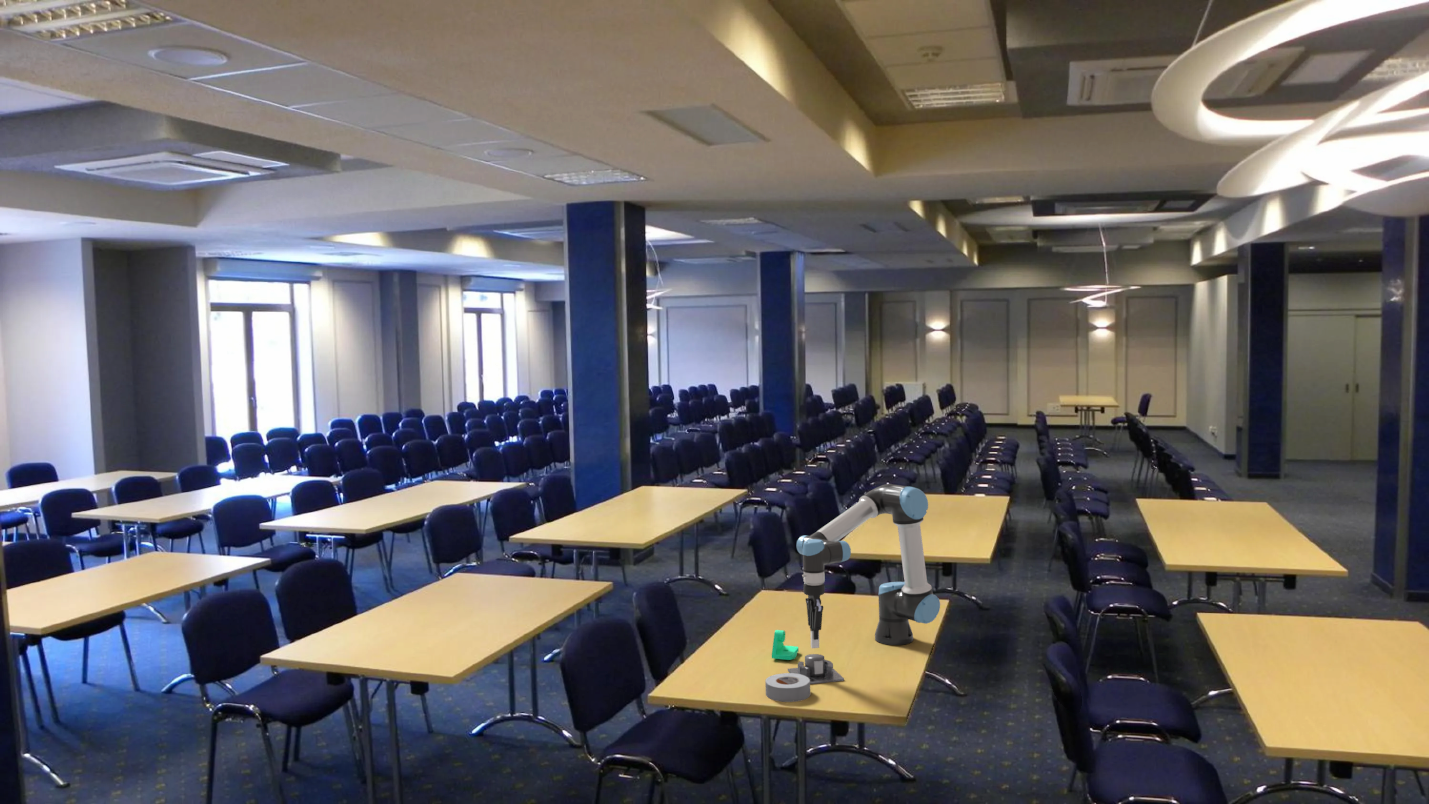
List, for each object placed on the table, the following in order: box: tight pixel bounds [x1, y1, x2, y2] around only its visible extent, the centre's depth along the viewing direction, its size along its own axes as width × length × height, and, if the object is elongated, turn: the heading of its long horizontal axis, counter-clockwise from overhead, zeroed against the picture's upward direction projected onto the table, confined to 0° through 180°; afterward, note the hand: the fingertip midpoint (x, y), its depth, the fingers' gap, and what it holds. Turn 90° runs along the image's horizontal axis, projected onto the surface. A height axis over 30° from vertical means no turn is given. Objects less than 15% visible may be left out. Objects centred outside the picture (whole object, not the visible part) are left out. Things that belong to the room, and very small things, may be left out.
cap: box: [804, 653, 825, 676], centre depth 361 cm, size 7×8×6 cm
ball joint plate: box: [787, 658, 845, 685], centre depth 361 cm, size 16×16×4 cm
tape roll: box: [764, 672, 811, 703], centre depth 344 cm, size 15×15×5 cm
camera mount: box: [771, 629, 799, 661], centre depth 384 cm, size 12×8×10 cm, turn 161°
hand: (815, 647), depth 361 cm, fingers closed
